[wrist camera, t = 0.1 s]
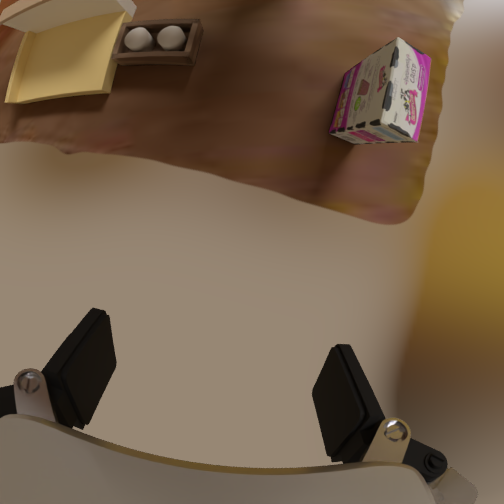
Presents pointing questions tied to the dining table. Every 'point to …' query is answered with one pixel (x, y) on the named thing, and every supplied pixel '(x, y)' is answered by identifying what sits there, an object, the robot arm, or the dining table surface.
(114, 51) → the caddy
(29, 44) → the counter shelf
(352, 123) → the candy bar box
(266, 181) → the dining table surface
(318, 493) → the robot arm
